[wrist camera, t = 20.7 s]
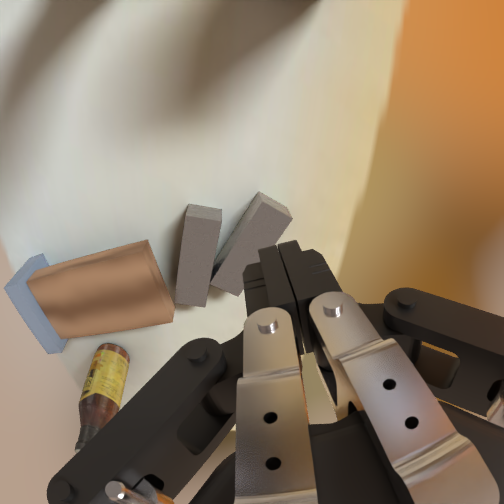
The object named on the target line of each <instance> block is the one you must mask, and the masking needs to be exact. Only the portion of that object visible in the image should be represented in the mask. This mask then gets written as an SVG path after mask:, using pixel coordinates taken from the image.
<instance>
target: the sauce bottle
mask: <svg viewBox="0 0 504 504" xmlns="http://www.w3.org/2000/svg"><path fill="white" fill-rule="evenodd" d="M129 361H130V359H129V356H128V354H127V353H126V351H125V350H124V349H122V348H121V347H119V346H117V345H114V344H109V343H107V344H103V345H101V346H100V347H99V348H98V349H97V352H96V353H95V355H94V358H93V361H92V364H91V367H90V370H89V373H88V375H87V379H86V381H85V385H84V388H83V392H82V395H81V398H80V401H79V412H80V422H81V428H80V435H79V438H78V442H77V443H76V447H75V452H76V453H78V452H79V451H80V450H81V449H82V448H83V447H84V446H85V445H86V444H87V443H88V442H89V441H90V440H91V439H92V438H93V437H94V436H95V435H96V434H97V433H98V432H99V431H100V430H101V429H102V428H103V427H104V426H105V425H106V424H107V423H108V422H109V421H110V420H111V419H112V418H113V417H114V416H115V415H116V414H117V413H118V411H119V408H120V404H121V399H122V394H123V390H124V385H125V381H126V376H127V372H128V368H129V365H128V364H129Z"/></svg>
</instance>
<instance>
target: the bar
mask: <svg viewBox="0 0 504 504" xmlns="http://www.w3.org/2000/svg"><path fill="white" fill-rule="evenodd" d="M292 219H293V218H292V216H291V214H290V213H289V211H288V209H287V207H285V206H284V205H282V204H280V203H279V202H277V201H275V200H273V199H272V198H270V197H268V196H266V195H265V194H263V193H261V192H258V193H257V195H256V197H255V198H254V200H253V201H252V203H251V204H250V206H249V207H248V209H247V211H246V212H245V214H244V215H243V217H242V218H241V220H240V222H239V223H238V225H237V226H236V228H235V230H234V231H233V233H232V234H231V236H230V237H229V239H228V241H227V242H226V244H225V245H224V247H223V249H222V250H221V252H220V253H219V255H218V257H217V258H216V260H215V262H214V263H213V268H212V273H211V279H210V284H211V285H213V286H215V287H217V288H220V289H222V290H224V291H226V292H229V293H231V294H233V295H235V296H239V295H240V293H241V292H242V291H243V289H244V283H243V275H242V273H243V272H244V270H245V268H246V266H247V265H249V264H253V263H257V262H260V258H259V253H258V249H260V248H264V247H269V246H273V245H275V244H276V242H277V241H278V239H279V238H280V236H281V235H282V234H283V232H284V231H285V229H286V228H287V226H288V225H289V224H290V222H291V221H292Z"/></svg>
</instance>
